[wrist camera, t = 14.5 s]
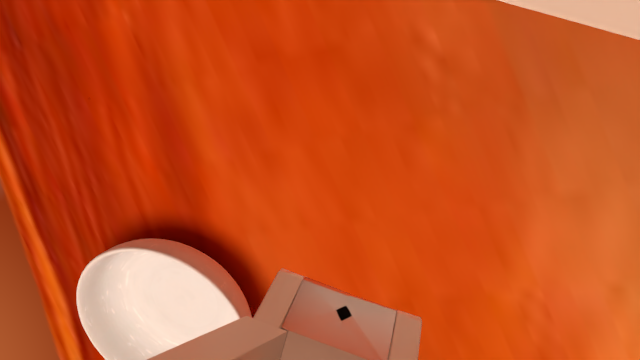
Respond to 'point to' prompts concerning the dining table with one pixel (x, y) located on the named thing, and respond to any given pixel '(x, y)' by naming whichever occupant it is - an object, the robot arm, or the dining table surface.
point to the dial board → (592, 13)
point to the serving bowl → (154, 298)
